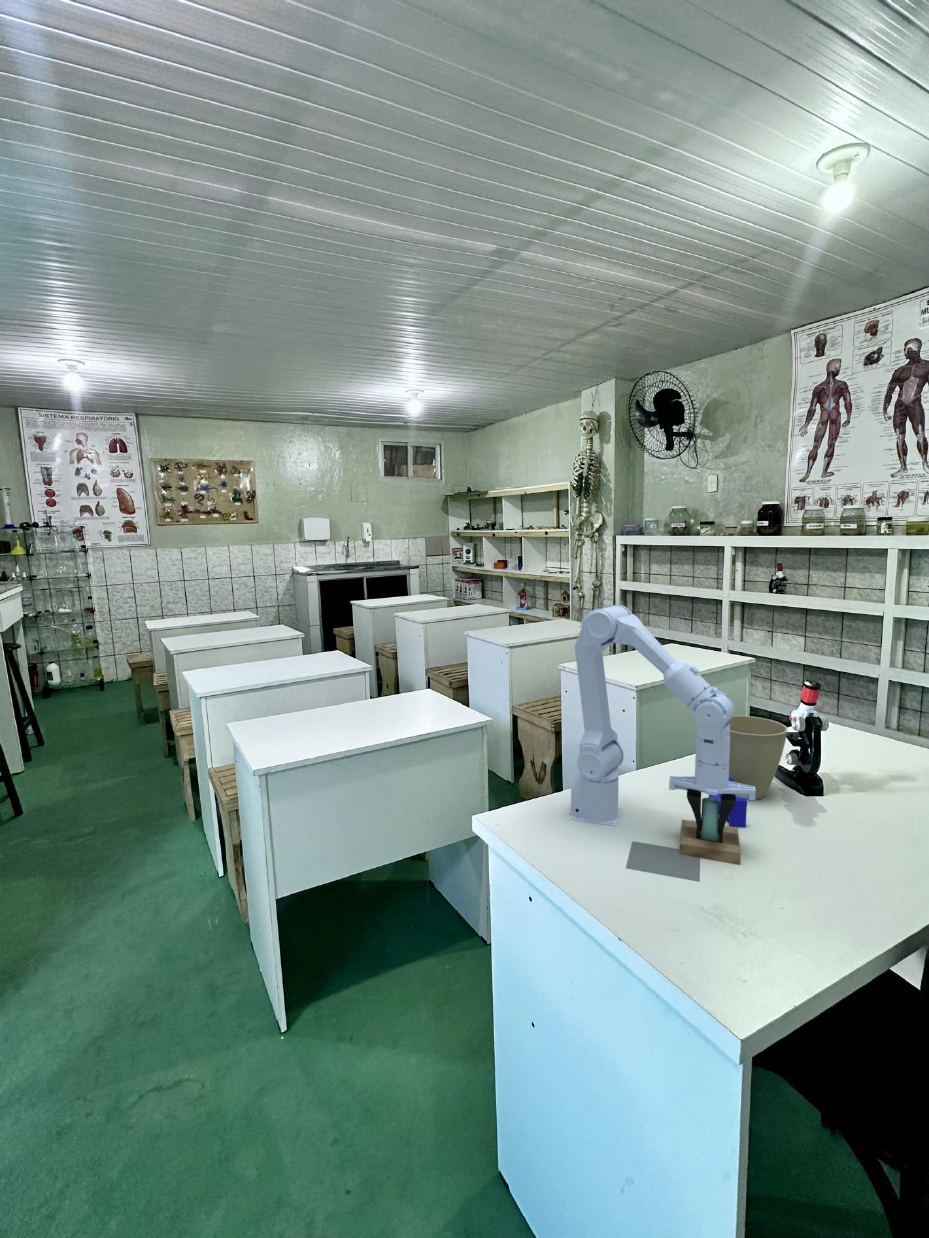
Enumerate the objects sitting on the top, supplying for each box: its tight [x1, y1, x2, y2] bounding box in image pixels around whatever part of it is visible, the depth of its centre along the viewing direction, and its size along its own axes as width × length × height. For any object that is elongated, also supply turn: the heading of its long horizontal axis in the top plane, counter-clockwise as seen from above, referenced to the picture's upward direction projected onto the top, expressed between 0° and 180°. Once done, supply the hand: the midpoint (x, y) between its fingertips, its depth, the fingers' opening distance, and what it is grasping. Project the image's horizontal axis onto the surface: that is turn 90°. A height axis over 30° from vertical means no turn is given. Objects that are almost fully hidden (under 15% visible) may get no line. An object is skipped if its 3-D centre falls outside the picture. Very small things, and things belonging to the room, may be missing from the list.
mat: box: [625, 840, 701, 883], centre depth 106 cm, size 12×10×1 cm
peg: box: [700, 797, 720, 843], centre depth 110 cm, size 3×3×8 cm
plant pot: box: [727, 715, 789, 800], centre depth 133 cm, size 15×15×16 cm
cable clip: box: [708, 778, 748, 829], centre depth 123 cm, size 12×4×6 cm, turn 169°
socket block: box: [679, 819, 742, 866], centre depth 110 cm, size 10×10×2 cm
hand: (709, 830), depth 110 cm, fingers closed on peg, 3 cm apart
